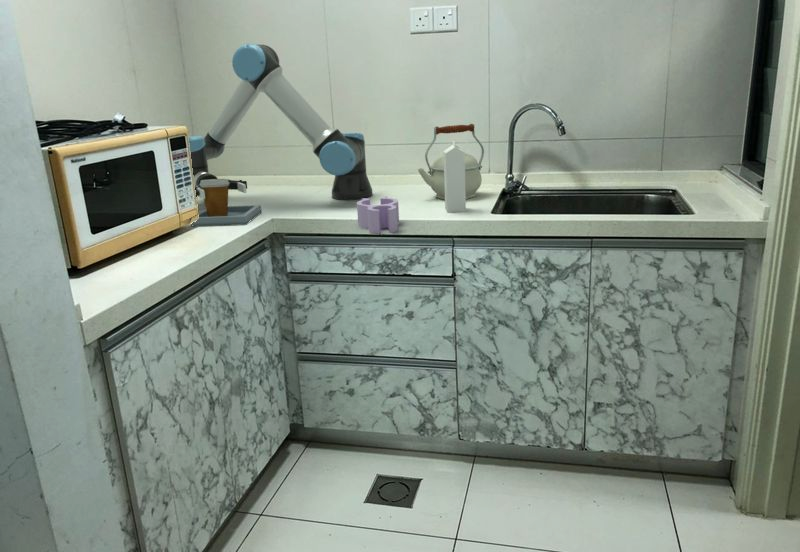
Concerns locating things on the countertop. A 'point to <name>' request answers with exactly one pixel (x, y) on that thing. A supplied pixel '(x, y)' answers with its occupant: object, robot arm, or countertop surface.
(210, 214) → the disposable coffee cup
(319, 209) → the countertop surface
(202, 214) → the tray
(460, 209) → the milk
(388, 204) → the clip
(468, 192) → the kettle
